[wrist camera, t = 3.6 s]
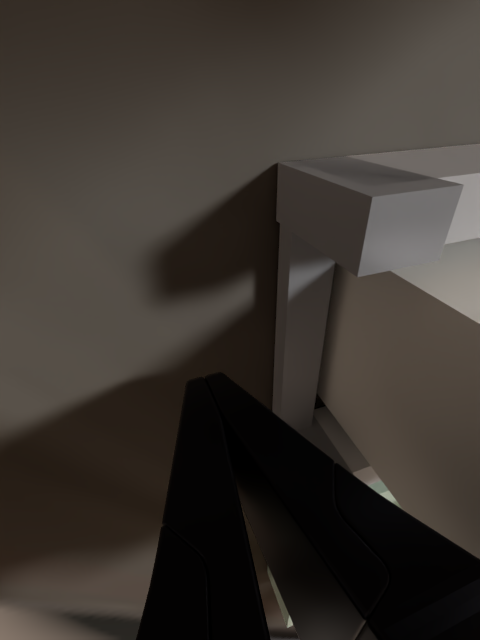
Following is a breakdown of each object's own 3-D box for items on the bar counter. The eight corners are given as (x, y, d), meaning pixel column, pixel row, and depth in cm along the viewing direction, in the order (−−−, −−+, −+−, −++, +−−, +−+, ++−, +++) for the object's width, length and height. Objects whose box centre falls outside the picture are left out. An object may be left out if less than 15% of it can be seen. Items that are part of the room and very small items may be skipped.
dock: (584, 133, 9) (749, 146, 7) (464, 379, 15) (535, 434, 12) (278, 162, 7) (372, 196, 4) (268, 445, 12) (309, 529, 10)
